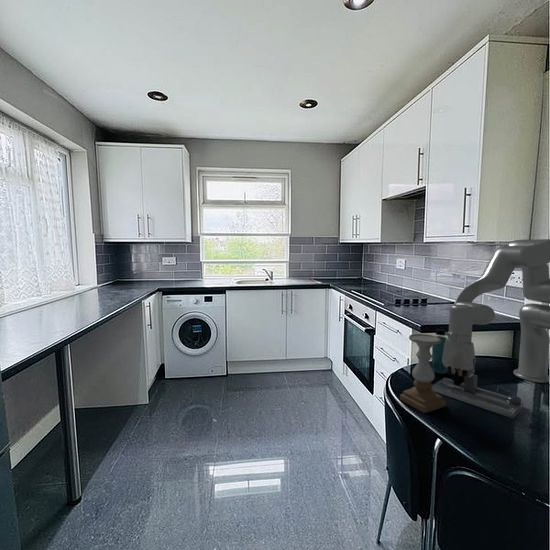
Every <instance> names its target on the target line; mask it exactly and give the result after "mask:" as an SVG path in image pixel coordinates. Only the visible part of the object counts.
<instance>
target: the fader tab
mask: <svg viewBox="0 0 550 550" xmlns="http://www.w3.org/2000/svg"><path fill="white" fill-rule="evenodd" d="M463 383H464V390H465V391H469V392H472V393H475V392H476V391H477V387H478V375H476V374H474V373H473V374H471V373H466V374H464V375H463Z"/></svg>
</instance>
